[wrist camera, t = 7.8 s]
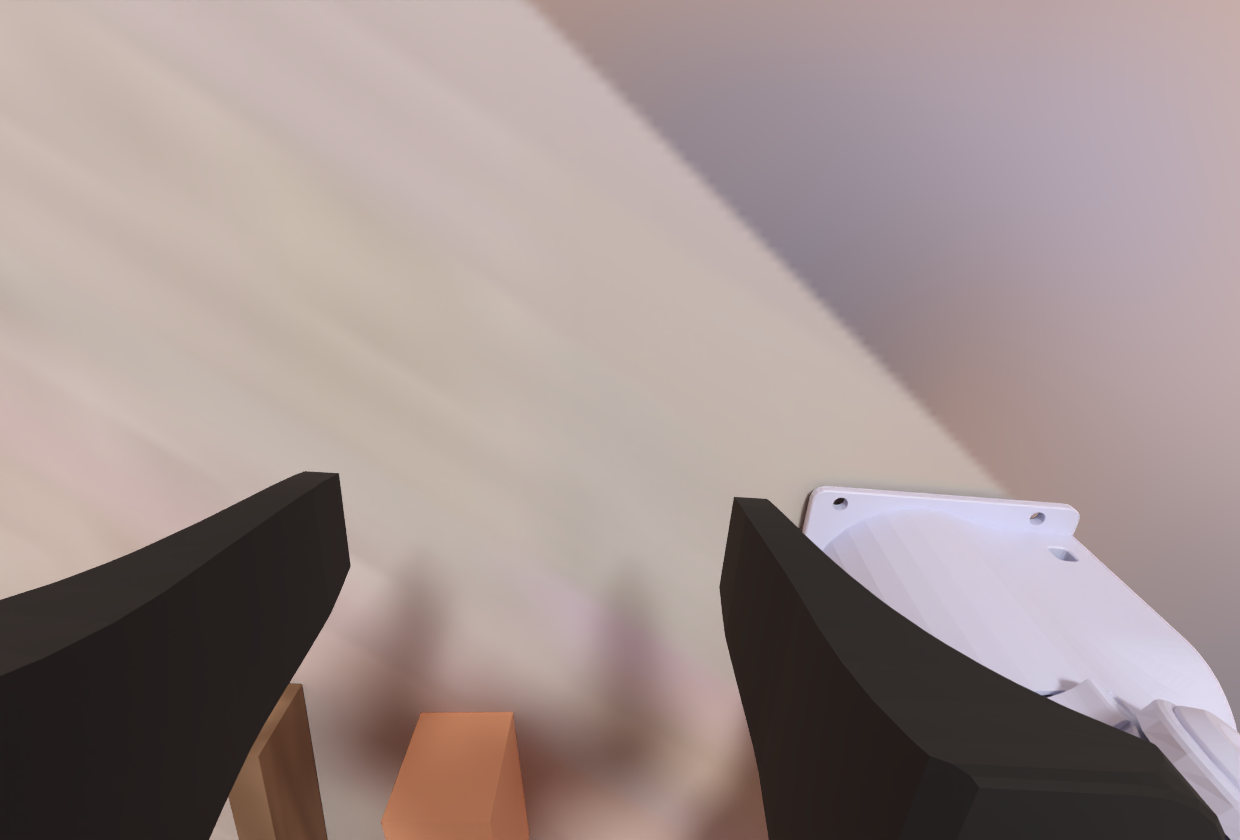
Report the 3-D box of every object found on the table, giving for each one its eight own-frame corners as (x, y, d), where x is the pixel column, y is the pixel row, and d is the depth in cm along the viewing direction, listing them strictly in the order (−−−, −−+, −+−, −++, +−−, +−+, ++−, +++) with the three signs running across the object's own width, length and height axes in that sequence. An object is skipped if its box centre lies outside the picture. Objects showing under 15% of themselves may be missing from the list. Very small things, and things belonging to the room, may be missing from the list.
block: (529, 831, 31) (512, 951, 27) (447, 832, 32) (416, 950, 27) (513, 709, 28) (489, 821, 24) (421, 710, 28) (380, 821, 24)
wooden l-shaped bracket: (595, 705, 28) (591, 779, 25) (580, 894, 33) (574, 975, 30) (266, 681, 28) (218, 753, 24) (303, 875, 33) (267, 955, 30)
